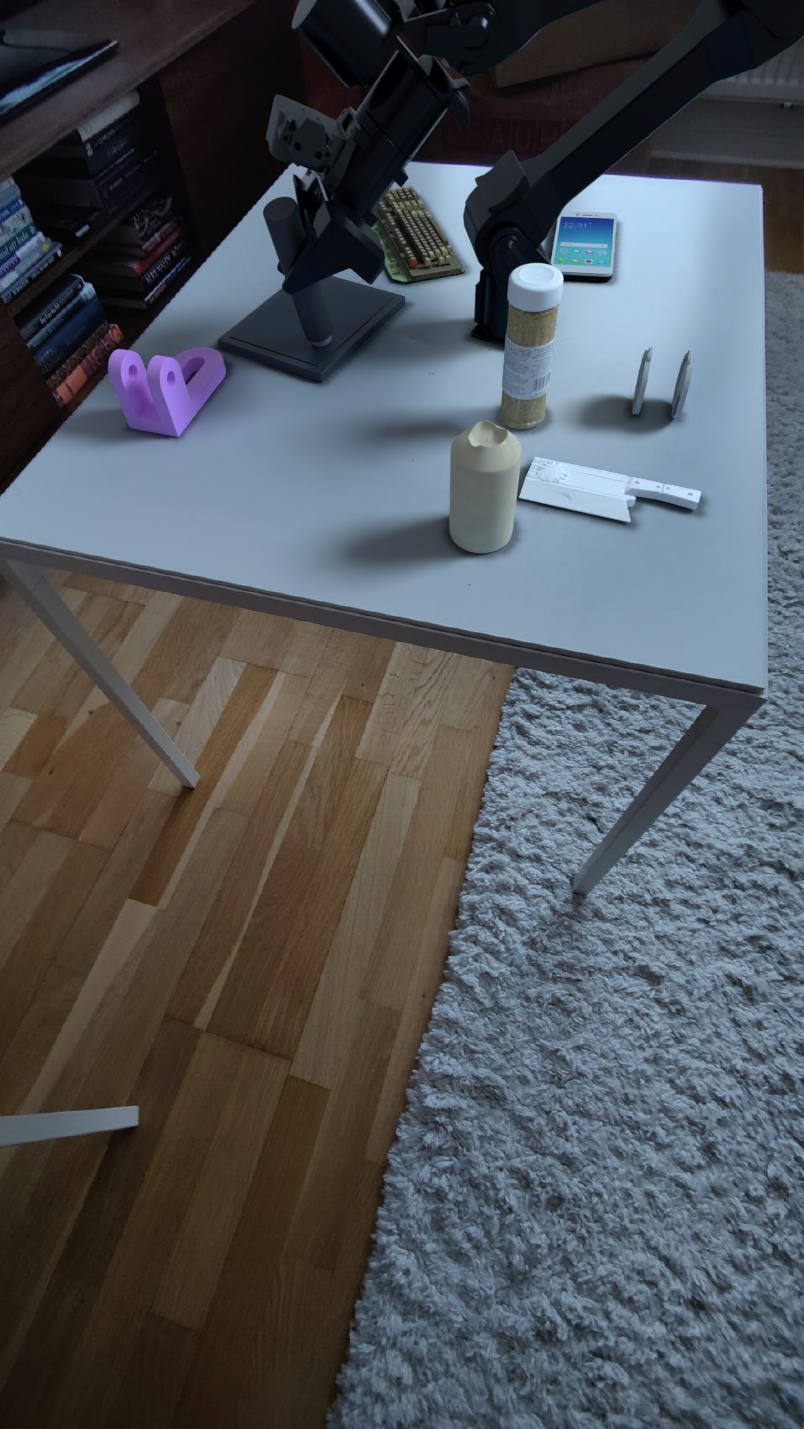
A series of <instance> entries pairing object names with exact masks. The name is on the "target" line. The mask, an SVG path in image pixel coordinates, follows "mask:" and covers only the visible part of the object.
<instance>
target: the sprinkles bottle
mask: <svg viewBox="0 0 804 1429" xmlns="http://www.w3.org/2000/svg"><path fill="white" fill-rule="evenodd" d="M563 289H564V279H563V275H562V273H561V271H560V270H559V269H557V268H556V267H554V266H551V265H548V264H543V263H530V264H525V265H522V266H519V267H518V268H516V269H515V270H513V271H512V273H511V274H510V276H509V283H508V294H507V298H508V301H509V304H508V305H509V310H508V322H507V332H506V338H505V347H504V352H503V365H502V376H501V377H502V378H501V388H502V390H501V402H500V408H499V418H500V421H502V422H503V423H504V425H506V426H508V427H509V428H513V429H515V430H517V429H519V430H525V429H526V430H528V429H532V428H535V427H537V426H538V425H540V424H542V422H543V421H544V419H545V415H546V409H545V408H546V401H547V393H548V390H549V385H550V379H551V371H552V364H553V357H554V349H555V341H556V328H557V318H558V311H559V306H560V303H561V301H562V297H563Z"/></svg>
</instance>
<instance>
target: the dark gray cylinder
mask: <svg viewBox="0 0 804 1429" xmlns="http://www.w3.org/2000/svg"><path fill="white" fill-rule="evenodd" d="M262 215H263V219H264V222H265V224H266V227H267V230H268V233H269V237H270V239H271V242H272V245H273V247H274V251H275V253H276V256H277V259H278V262H280V265H281V268H282V271H283V274H284V275H283V274H282V275H283V277H284V278H285V277H286V275H287V273H288V271H289V269H290V267H291V265H292V263H293V261H294V259H295V257H296V255H297V253H298V251H299V249H300V247H301V245H302V243H303V241H304V239H305V237H306V233H305V230H304V226H303V223H302V220H301V216H300V213H299V210H298V206H297V200H296V199H294V198H293V197H291V196H279V197H275V198H274V199H272V200H270V201H269V202H267V203H266V204H265V205H264V207H263V210H262ZM291 297H292V300H293V303H294V306H295V308H296V311H297V314H298V317H299V320H300V323H301V326H302V329H303V332H304V334H305V337H306V339H307V340H309V341H311V342H312V343H313V345H315V346H317V347H323V346H325V345H327V344H328V343H330V341H331V339H332V336H331V335H332V333H333V330H334V327H333V323H332V320H331V317H330V313H329V310H328V307H327V303H326V300H325V296H324V293H323V290H322V286H321V283H320V281H318V282H316V283H314V284H312V285H310V286H308V287H306V288H304V289H302V290H300V291H298V292H296V293H294V294H292V295H291Z"/></svg>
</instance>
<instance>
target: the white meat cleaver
mask: <svg viewBox="0 0 804 1429" xmlns="http://www.w3.org/2000/svg"><path fill="white" fill-rule="evenodd" d="M701 495H702V490H697V489H694V488H693V489H692V488H688V487H683V486H678V485H674V484H669V483H662V482H658V481H654V480H650V479H645V478H639V477H637V476H636V477H635V476H631V475H630V476H629V475H626V474H621V473H617V472H612V471H608V470H603V469H598V468H596V467H595V468H594V467H590V466H586V465H581V464H576V463H572V462H564V461H559V460H558V461H557V460H554V459H548V458H543V457H540V456H534V458H533V460H532V462H531V464H530V466H529V469H528V472H527V474H526V476H525V478H524V481H523V485H522V488H521V490H520V494H519V496H518V498H519V499H522V500H526V501H531V502H536V503H539V504H540V503H541V504H545V505H548V506H553V507H557V508H563V509H566V510H571V511H576V512H579V513H585V514H588V515H593V516H598V517H603V518H607V519H611V520H614V521H615V520H616V521H619V522H625V523H629V524H631V522H632V519H631V515H630V512H629V508H631V507H635V504H636V500H637V497H639V498H645V499H651V500H658V501H662V502H665V503H670V504H672V505H676V506H679V507H683V508H687V509H689V510H693V511H696V510H697V508H698V506H699V502H700V498H701Z"/></svg>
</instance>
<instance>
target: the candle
mask: <svg viewBox="0 0 804 1429" xmlns="http://www.w3.org/2000/svg"><path fill="white" fill-rule="evenodd" d="M522 447H523V446H522V444H521V442H520V440H519V439H518V438H517V436H515V435H514V434H513V433H512V432H510V431H509V430H508V429H507V428H504V427H501V426H499V425H497V424H495V423H493V422H492V421H490V420H487V419H482V420H479V421H478V422H477V423H475V424H474V425H472V426H471V427H469V428H467V429H465V430H463V431H462V432H461V433H459V434H458V435H457V436H456V437H455V438H454V439H453V441H452V443H451V445H450V460H449V461H450V464H449V465H450V466H449V469H450V471H449V473H450V474H449V522H448V523H449V533H450V537H451V539H452V541H453V542H454V544H455V545H456V546H458V547H459V548H460V549H462V550H464V551H467V552H470V553H475V554H488V553H492V552H495V551H498V550H500V549H502V548H504V547H505V546H506V545H507V544H508V543H509V541H510V540H511V538H512V535H513V532H514V523H515V516H516V509H517V508H516V507H517V498H518V490H519V482H520V480H519V479H520V472H521V463H522V456H523V448H522Z"/></svg>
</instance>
